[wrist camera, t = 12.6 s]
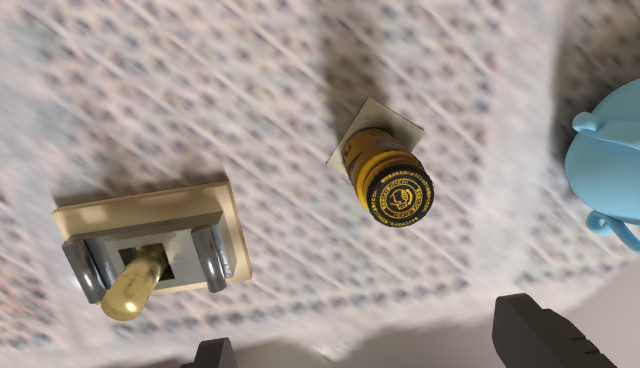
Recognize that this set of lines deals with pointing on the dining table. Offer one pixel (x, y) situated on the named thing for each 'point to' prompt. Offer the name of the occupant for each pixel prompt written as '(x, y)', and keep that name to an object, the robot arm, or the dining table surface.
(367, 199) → the condiment
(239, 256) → the clamp block fixture
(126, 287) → the brass pin
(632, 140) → the decorative pot
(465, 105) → the dining table surface
